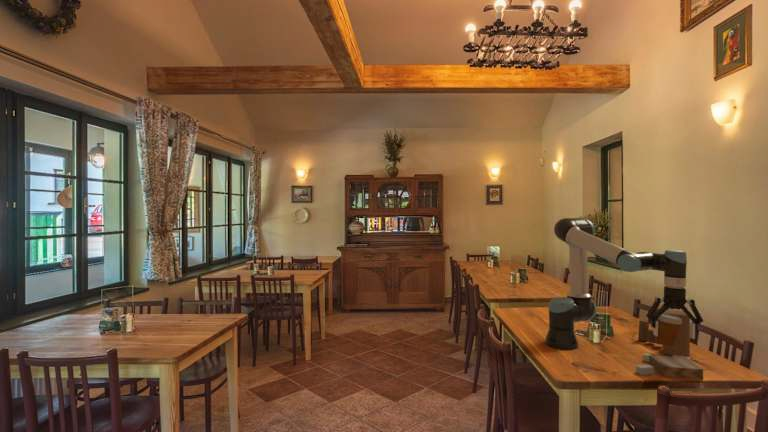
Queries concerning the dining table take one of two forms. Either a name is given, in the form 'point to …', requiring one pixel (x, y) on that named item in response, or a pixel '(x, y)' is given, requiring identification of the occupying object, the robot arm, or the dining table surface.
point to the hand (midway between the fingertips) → (673, 336)
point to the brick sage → (646, 357)
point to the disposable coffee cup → (668, 329)
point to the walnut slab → (676, 367)
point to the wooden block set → (646, 332)
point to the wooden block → (679, 336)
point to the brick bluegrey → (644, 369)
